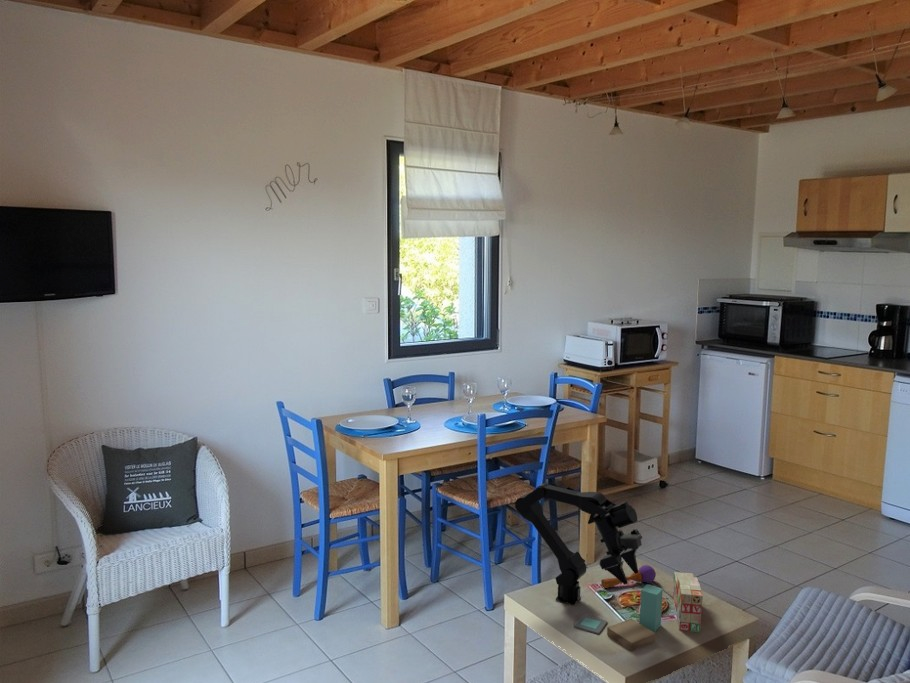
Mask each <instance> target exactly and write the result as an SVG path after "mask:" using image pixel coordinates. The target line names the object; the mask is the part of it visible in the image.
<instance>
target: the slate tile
mask: <svg viewBox="0 0 910 683" xmlns="http://www.w3.org/2000/svg"><path fill="white" fill-rule="evenodd" d="M607 624H608V621H607V620H604V619H600V618H597V617H593V616H590V615H585V614H582V615H581V616H580V617H579V619H577V621H576V622H575V624H574V625H573V628H574V629H579V630H580V631H585V632H589V633H592V634H595V635H600V634H601V632H602V631H603V629H604V628H605V626H606V625H607Z"/></svg>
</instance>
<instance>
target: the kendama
mask: <svg viewBox="0 0 910 683" xmlns="http://www.w3.org/2000/svg"><path fill="white" fill-rule="evenodd" d="M655 578H656V571H655V569H654V568H653V567H652V566H651V565H648V564H643V565H641V566H640V567H638V573H636V574H635V573H634V572H633V573H631V575H629V576H626V579H627V582H628V581H632V582H633V581H634V582H637V583H641V582H642V583H644V582H647V583H646V584H650V582H651V583H652V582H653V581H654V580H655ZM600 584H601V587H602V586H603V587H604V588H607V589H610V588H612V587H615V586H618V585H620V584H623V583H622V582H621V581H620V580H619V579H617V578H616V577H611V578H603V579H601V581H600ZM603 587H602V588H603ZM609 587H610V588H609ZM604 588H603V589H604Z"/></svg>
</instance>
